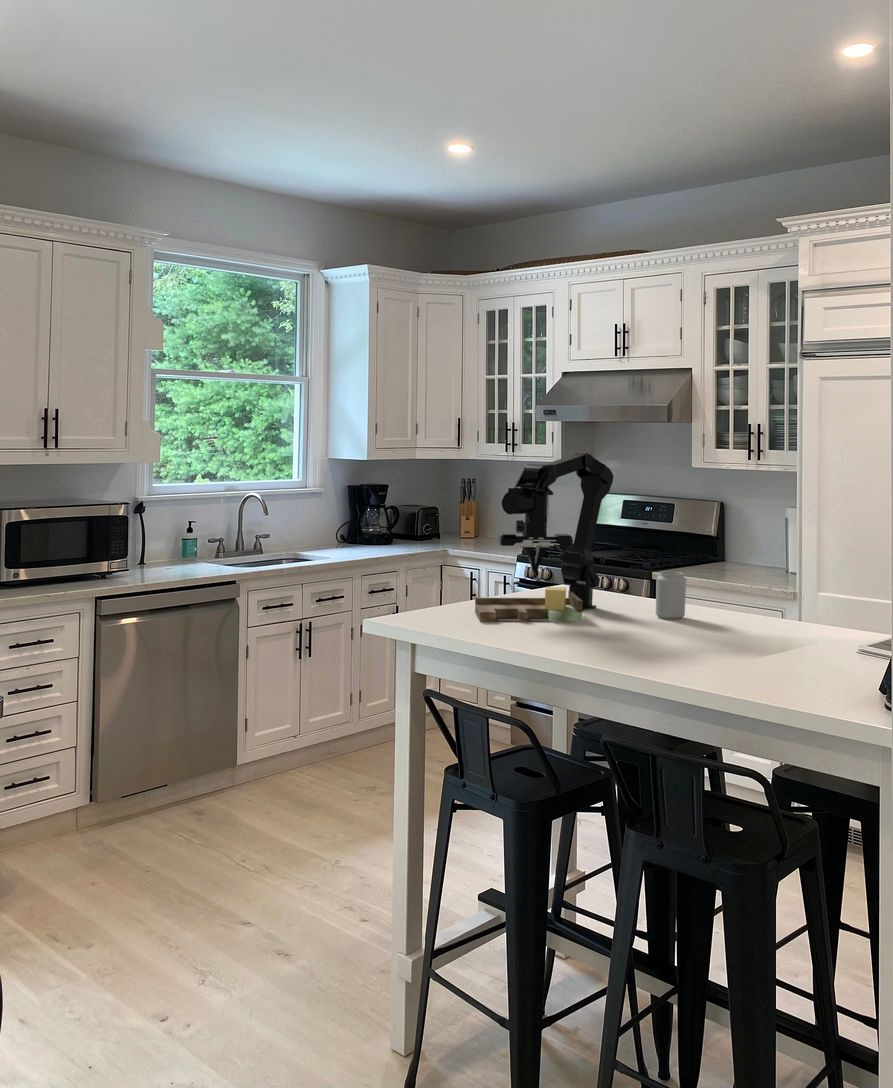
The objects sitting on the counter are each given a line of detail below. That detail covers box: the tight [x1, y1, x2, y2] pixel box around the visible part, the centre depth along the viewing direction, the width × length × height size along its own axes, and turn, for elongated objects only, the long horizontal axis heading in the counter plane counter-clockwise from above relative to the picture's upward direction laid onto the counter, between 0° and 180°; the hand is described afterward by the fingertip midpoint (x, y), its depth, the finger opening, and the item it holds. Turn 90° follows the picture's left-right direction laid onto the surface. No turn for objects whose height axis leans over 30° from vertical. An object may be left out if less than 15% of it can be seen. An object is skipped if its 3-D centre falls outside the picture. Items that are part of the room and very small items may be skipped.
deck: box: [474, 593, 583, 623], centre depth 254 cm, size 26×13×6 cm, turn 94°
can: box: [655, 571, 687, 621], centre depth 256 cm, size 8×8×12 cm
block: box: [544, 586, 567, 610], centre depth 254 cm, size 5×5×5 cm
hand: (534, 572), depth 255 cm, fingers closed
